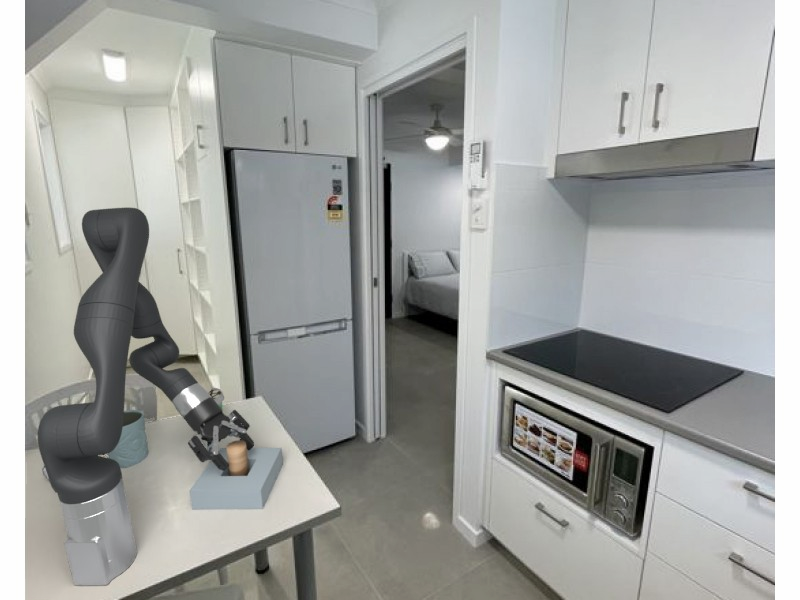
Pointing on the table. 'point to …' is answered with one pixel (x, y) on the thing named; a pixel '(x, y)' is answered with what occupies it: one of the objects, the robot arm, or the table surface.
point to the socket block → (238, 482)
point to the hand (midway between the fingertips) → (239, 457)
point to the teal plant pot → (131, 440)
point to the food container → (217, 396)
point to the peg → (237, 458)
